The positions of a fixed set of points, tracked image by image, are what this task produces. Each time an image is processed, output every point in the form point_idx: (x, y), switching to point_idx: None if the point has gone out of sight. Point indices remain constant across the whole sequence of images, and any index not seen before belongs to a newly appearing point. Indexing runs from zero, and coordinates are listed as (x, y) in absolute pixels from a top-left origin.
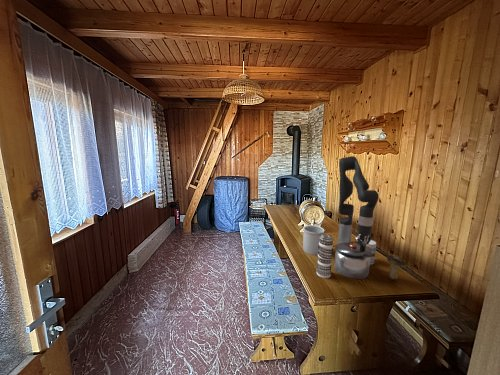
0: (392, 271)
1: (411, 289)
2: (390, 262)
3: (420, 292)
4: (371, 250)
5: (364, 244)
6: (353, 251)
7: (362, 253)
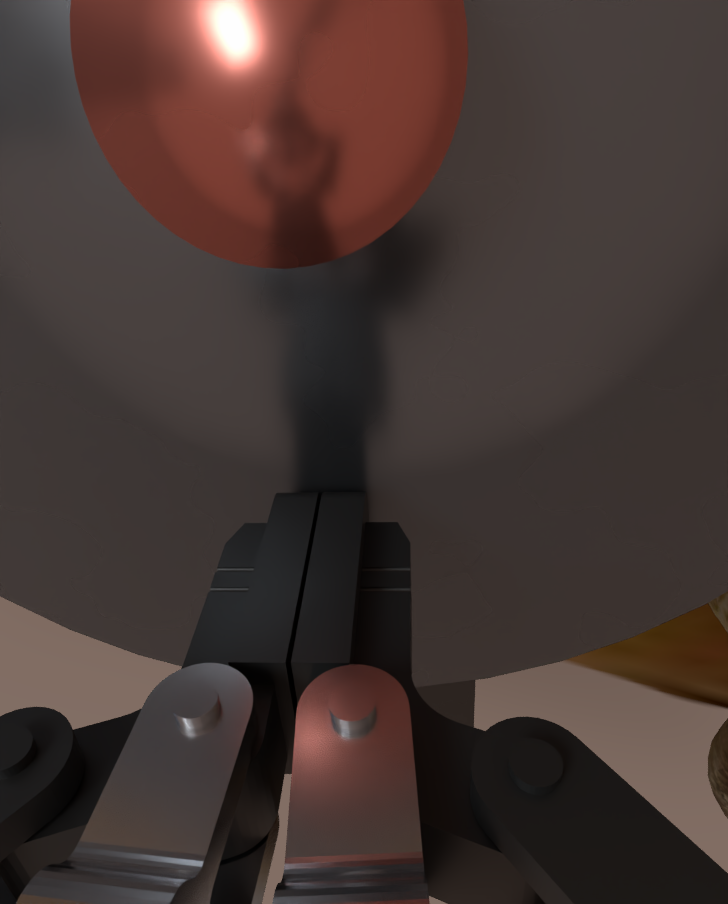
0: (709, 602)
1: (681, 645)
2: (721, 726)
3: (702, 689)
4: (655, 615)
5: (265, 866)
6: (33, 406)
7: (187, 635)
